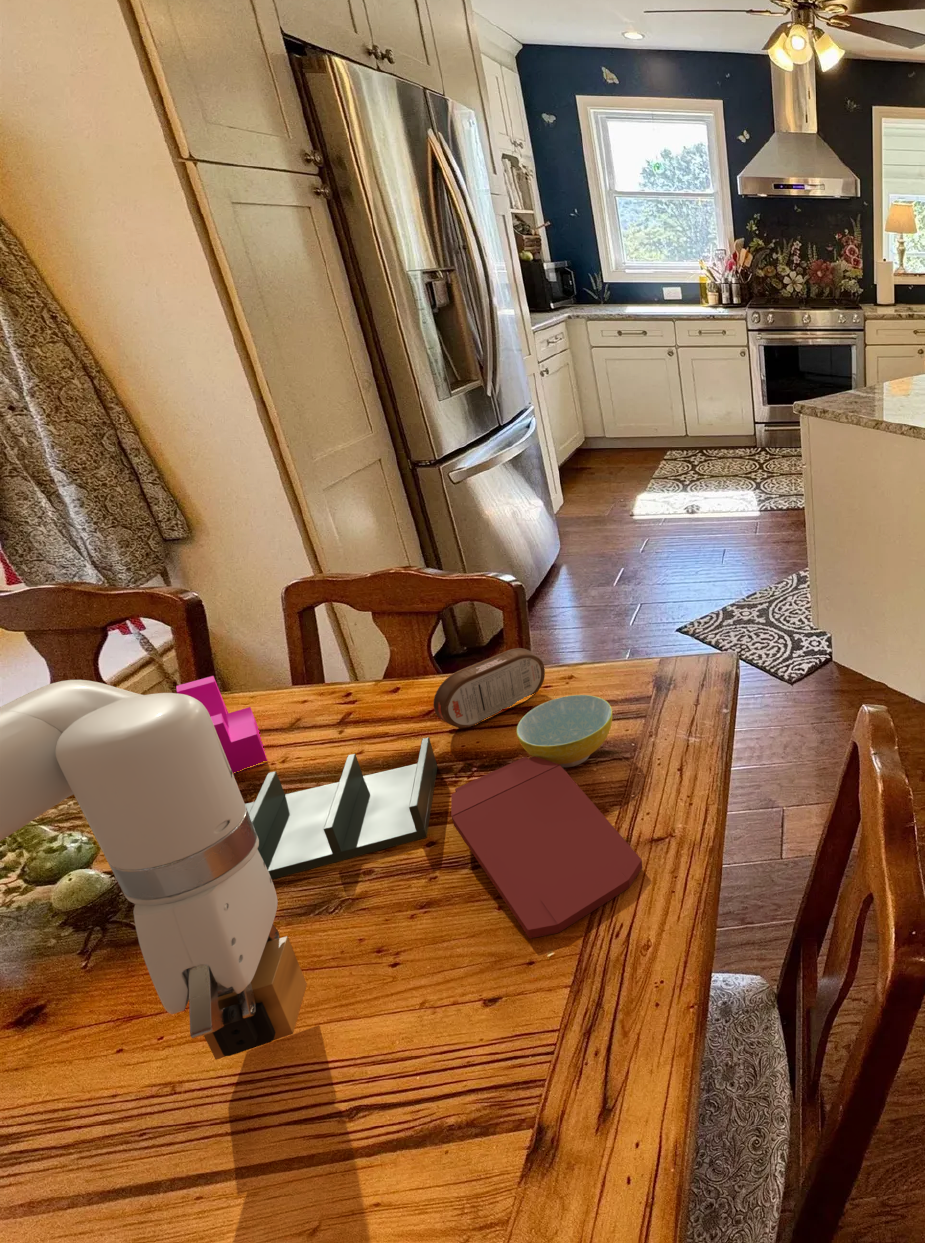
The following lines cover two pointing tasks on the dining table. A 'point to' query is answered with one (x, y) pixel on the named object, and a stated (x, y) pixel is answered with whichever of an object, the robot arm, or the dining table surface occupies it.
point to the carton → (543, 844)
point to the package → (272, 990)
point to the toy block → (229, 725)
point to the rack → (343, 815)
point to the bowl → (566, 729)
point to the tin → (488, 687)
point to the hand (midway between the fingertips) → (260, 1013)
